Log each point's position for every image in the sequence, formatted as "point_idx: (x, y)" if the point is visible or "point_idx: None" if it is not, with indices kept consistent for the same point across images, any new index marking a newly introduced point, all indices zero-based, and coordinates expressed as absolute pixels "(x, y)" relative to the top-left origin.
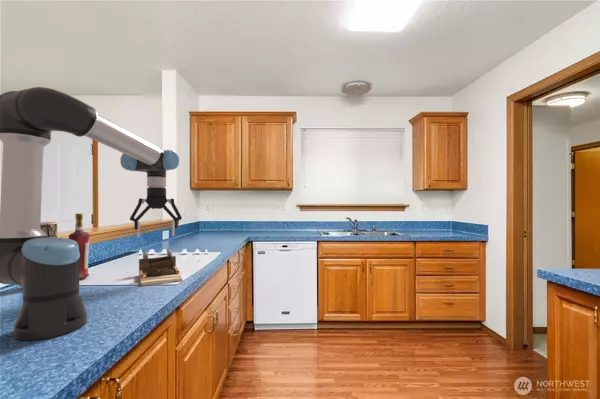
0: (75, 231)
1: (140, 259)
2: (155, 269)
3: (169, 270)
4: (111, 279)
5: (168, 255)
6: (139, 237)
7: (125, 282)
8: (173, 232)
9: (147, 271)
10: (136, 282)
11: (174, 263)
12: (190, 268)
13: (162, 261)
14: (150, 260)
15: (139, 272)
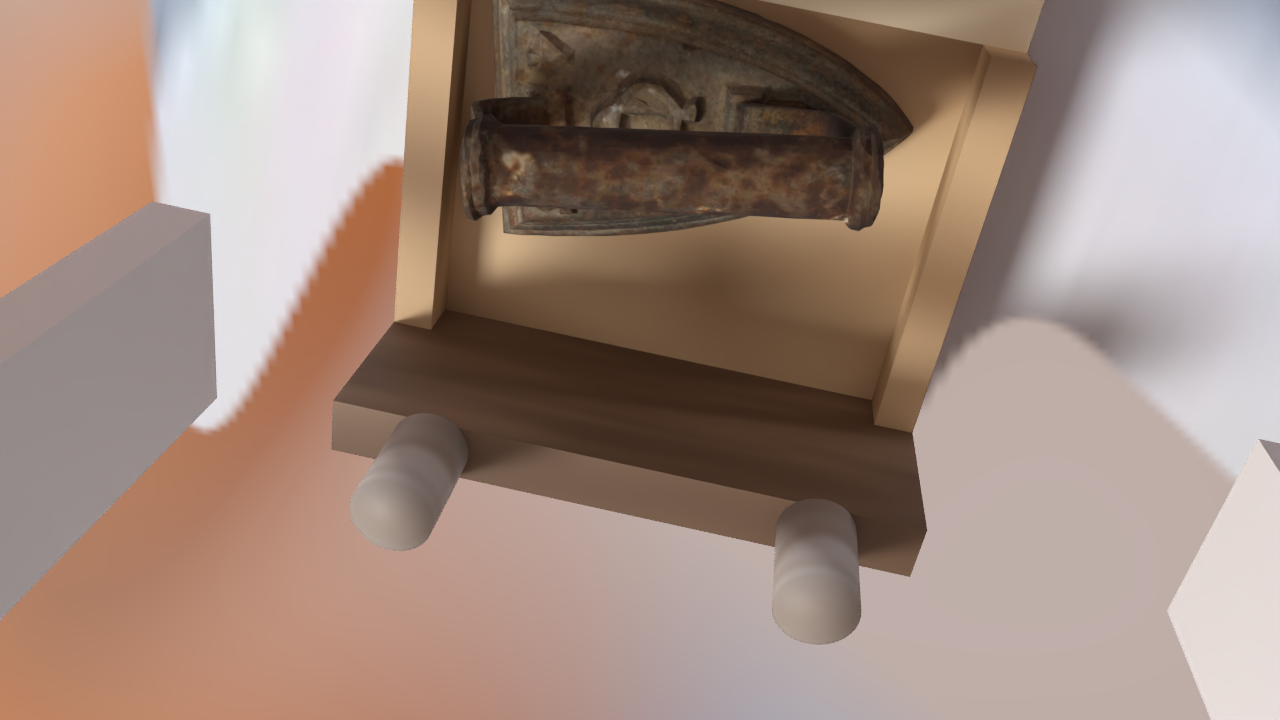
0: None
1: (900, 535)
2: (774, 107)
3: (563, 18)
4: None
5: (444, 439)
6: (1270, 442)
7: (1202, 136)
8: (121, 260)
9: (797, 390)
10: (1086, 17)
11: (396, 346)
12: None
13: (565, 412)
14: (876, 137)
15: (945, 325)
